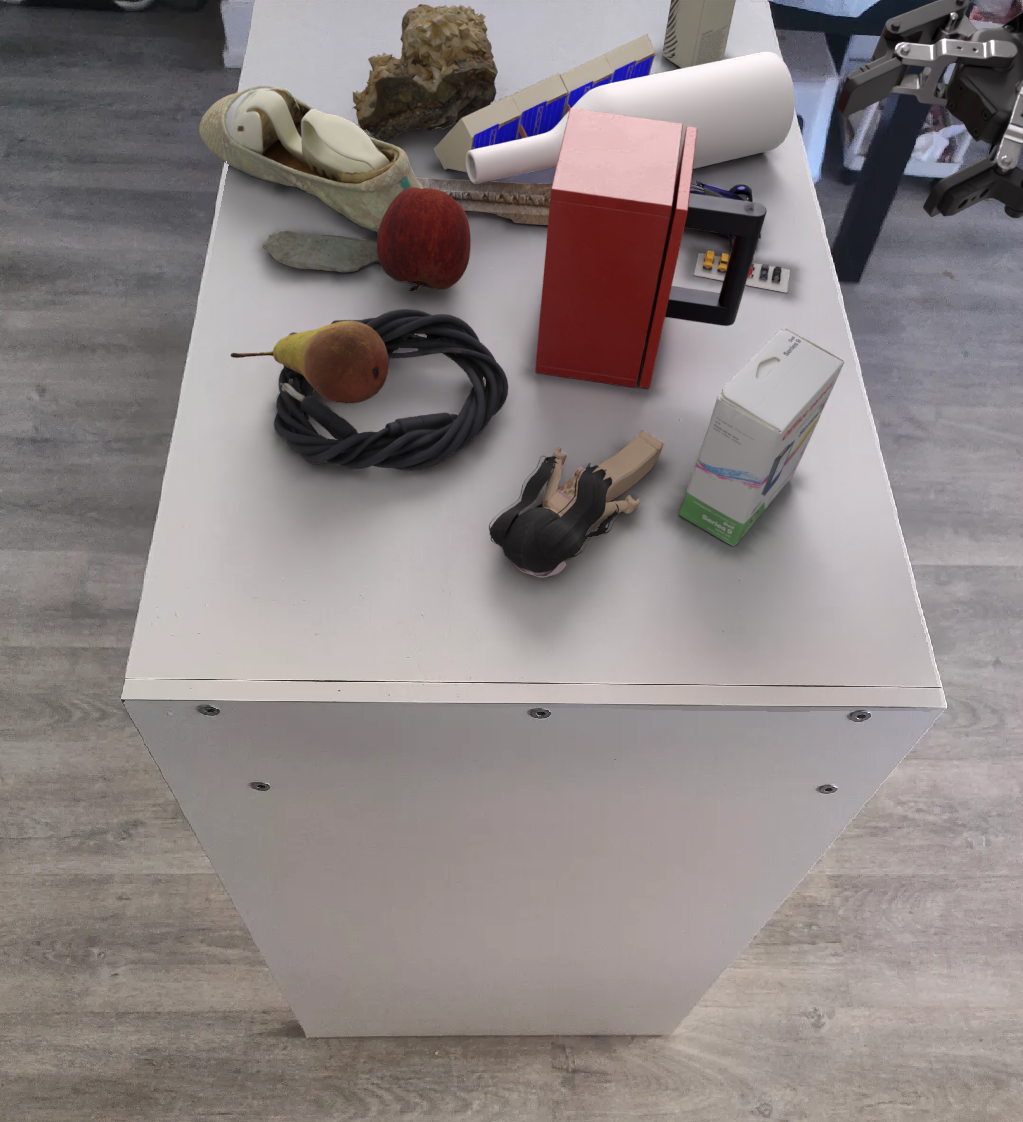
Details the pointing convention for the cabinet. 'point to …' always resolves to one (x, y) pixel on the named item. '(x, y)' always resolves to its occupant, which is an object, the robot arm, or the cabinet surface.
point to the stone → (321, 251)
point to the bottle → (672, 114)
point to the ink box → (758, 434)
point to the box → (697, 31)
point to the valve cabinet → (605, 244)
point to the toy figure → (571, 507)
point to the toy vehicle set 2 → (757, 276)
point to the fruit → (335, 360)
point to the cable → (404, 438)
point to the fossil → (498, 198)
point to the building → (542, 103)
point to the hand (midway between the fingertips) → (887, 149)
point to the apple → (424, 239)
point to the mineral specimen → (429, 74)
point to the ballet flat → (307, 152)
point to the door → (688, 214)
